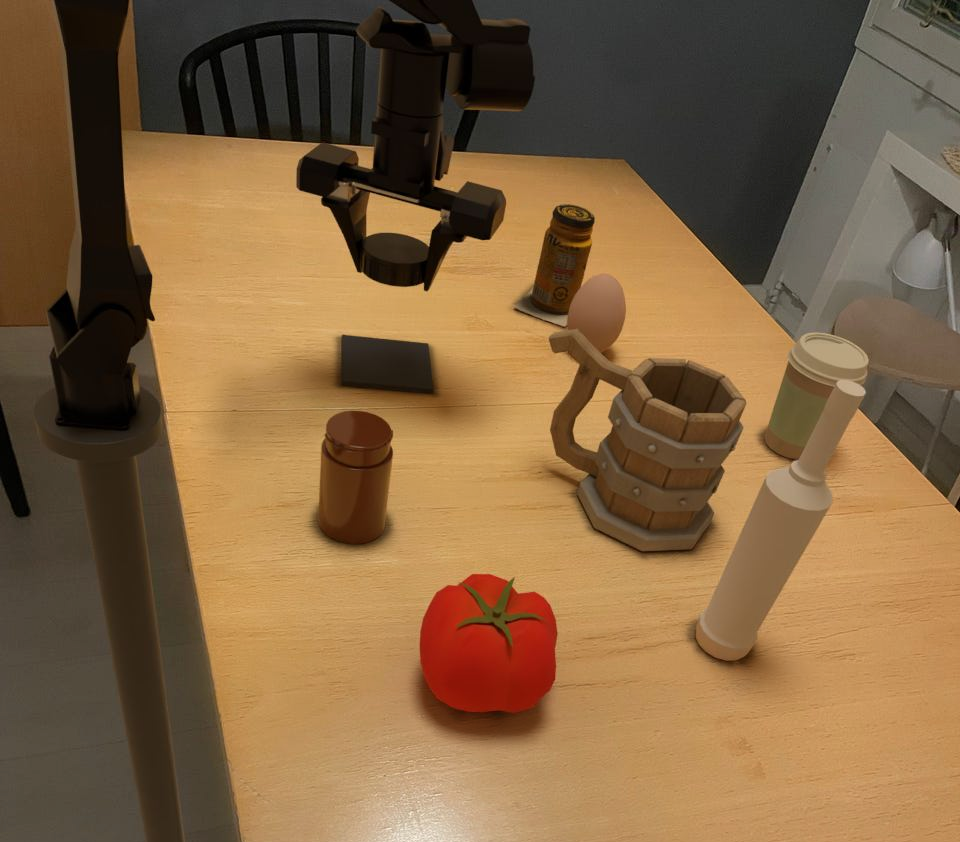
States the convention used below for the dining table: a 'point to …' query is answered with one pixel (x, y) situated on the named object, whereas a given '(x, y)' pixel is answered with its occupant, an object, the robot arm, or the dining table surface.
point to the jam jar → (355, 477)
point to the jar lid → (394, 259)
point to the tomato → (488, 646)
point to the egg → (598, 311)
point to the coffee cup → (811, 388)
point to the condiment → (560, 264)
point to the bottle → (775, 535)
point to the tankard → (649, 444)
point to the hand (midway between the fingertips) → (394, 280)
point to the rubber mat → (386, 364)
